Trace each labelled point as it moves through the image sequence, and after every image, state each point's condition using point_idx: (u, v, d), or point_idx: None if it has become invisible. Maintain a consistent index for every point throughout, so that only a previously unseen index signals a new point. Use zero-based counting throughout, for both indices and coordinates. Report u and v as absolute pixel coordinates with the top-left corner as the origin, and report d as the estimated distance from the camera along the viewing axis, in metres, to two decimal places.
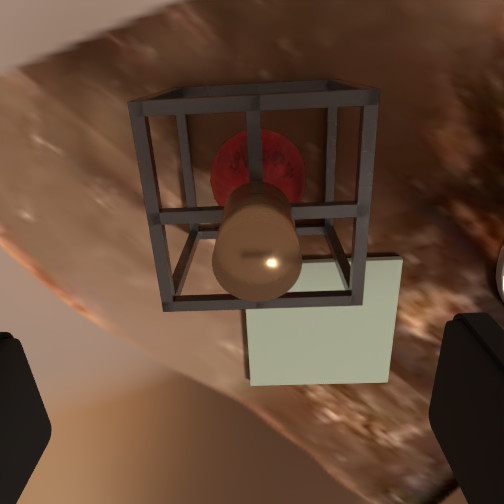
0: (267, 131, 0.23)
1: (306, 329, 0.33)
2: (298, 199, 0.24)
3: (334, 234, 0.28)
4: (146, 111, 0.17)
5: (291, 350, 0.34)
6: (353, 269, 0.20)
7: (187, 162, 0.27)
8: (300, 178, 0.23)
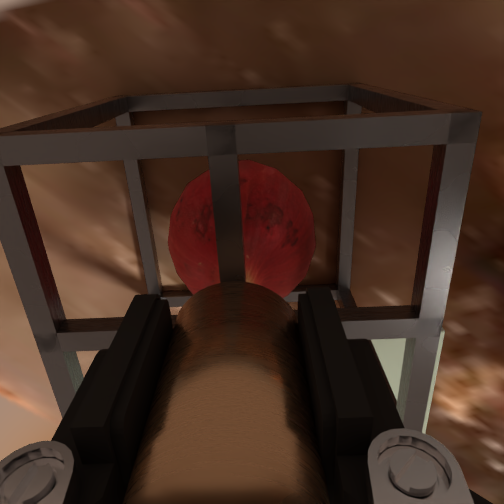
0: (255, 167, 0.15)
1: None
2: (304, 272, 0.15)
3: (353, 305, 0.19)
4: (6, 156, 0.08)
5: None
6: (404, 414, 0.12)
7: (140, 204, 0.19)
8: (308, 243, 0.14)
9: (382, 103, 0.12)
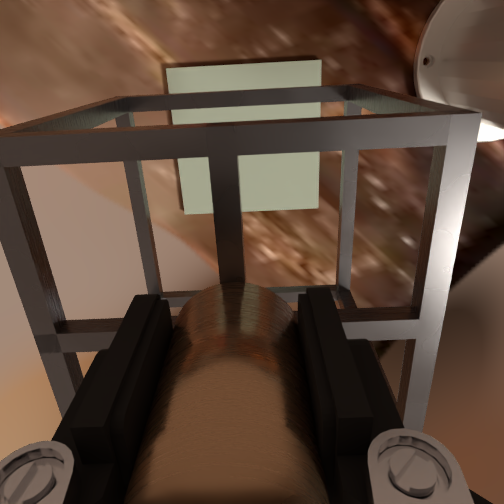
0: None
1: None
2: None
3: (353, 306, 0.19)
4: (6, 157, 0.08)
5: None
6: (403, 415, 0.12)
7: (140, 205, 0.19)
8: None
9: (382, 104, 0.12)
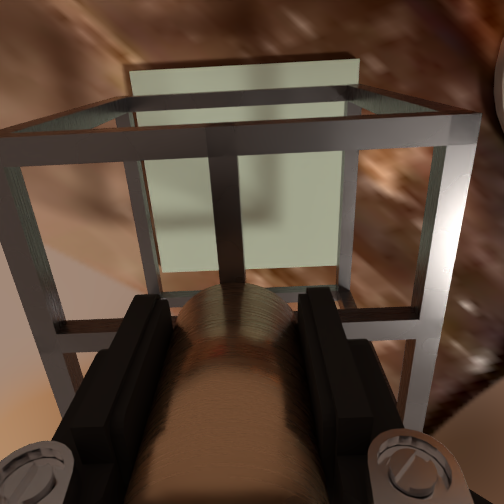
0: None
1: None
2: None
3: (353, 306, 0.19)
4: (6, 157, 0.08)
5: (212, 215, 0.25)
6: (404, 416, 0.12)
7: (140, 205, 0.19)
8: None
9: (382, 104, 0.12)
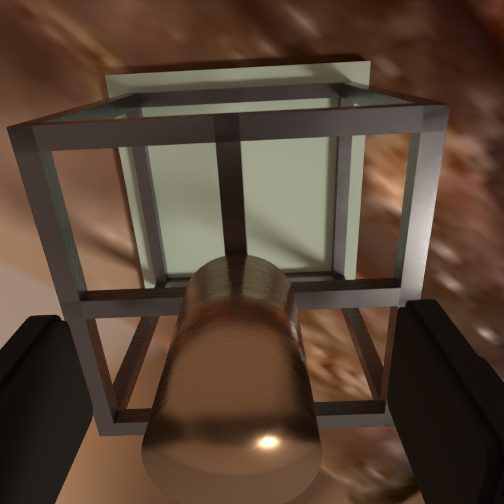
0: None
1: None
2: None
3: None
4: (41, 143, 0.10)
5: (202, 237, 0.22)
6: None
7: (148, 194, 0.20)
8: None
9: (370, 99, 0.14)
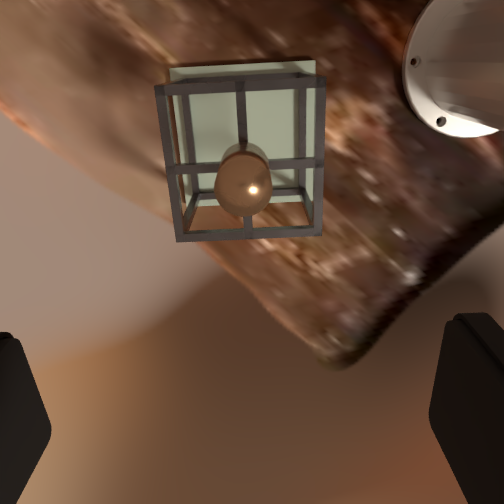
0: None
1: (233, 141, 0.36)
2: None
3: (306, 193, 0.36)
4: (166, 92, 0.25)
5: None
6: (314, 207, 0.28)
7: (190, 137, 0.35)
8: None
9: None
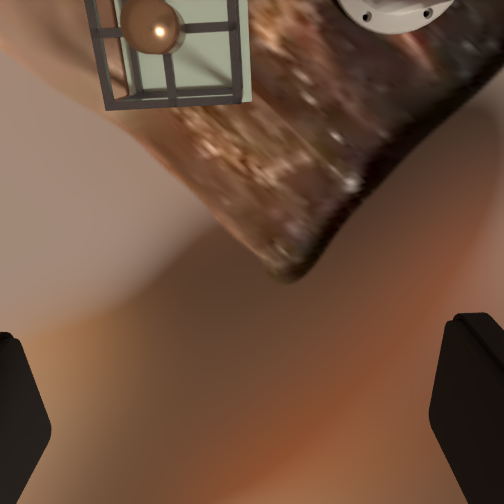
0: None
1: None
2: None
3: (241, 88, 0.38)
4: None
5: (162, 64, 0.39)
6: (231, 74, 0.30)
7: None
8: None
9: None
